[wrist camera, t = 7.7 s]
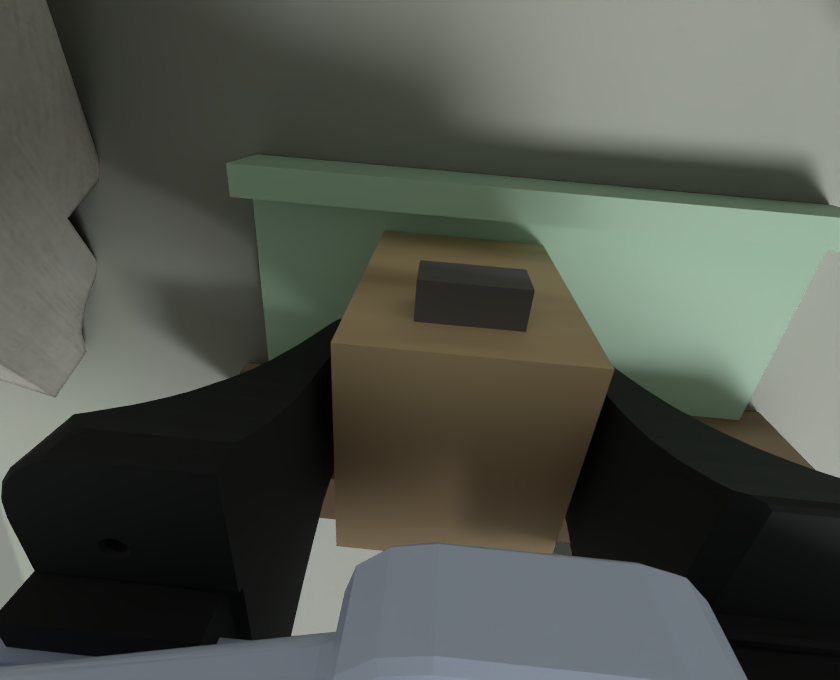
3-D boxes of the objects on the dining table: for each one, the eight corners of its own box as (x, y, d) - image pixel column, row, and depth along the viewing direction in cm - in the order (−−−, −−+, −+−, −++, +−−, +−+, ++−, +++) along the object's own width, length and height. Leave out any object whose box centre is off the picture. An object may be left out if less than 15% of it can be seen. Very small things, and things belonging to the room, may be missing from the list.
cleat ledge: (729, 409, 16) (764, 448, 14) (275, 365, 16) (254, 398, 14) (830, 204, 12) (893, 222, 11) (256, 154, 13) (225, 163, 11)
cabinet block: (512, 389, 15) (547, 567, 10) (379, 376, 15) (336, 545, 10) (548, 216, 12) (630, 323, 7) (385, 201, 12) (328, 296, 7)
